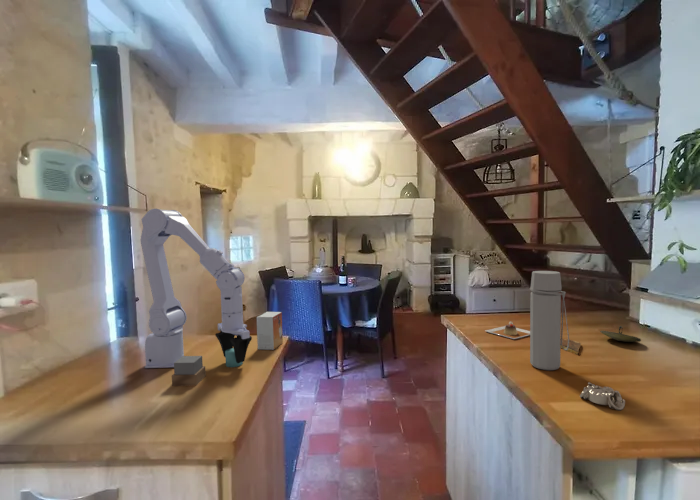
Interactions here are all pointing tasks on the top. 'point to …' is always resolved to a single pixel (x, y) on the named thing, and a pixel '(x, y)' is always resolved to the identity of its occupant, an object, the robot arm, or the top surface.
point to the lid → (621, 336)
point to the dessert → (509, 330)
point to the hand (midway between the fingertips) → (234, 359)
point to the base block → (188, 378)
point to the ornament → (603, 396)
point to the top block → (188, 365)
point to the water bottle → (546, 320)
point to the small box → (269, 330)
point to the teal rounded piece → (231, 358)
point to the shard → (571, 346)
